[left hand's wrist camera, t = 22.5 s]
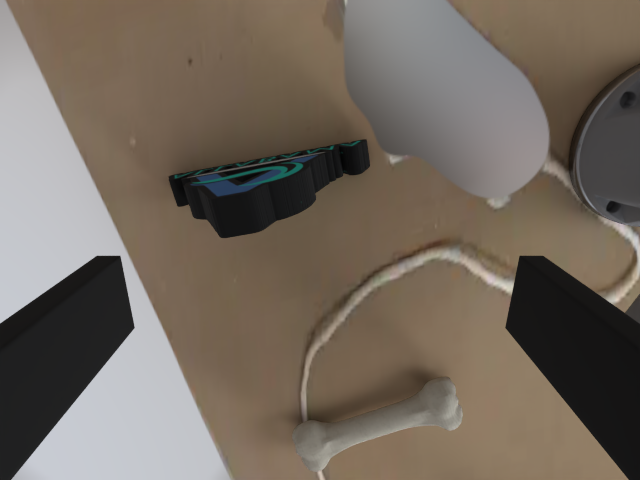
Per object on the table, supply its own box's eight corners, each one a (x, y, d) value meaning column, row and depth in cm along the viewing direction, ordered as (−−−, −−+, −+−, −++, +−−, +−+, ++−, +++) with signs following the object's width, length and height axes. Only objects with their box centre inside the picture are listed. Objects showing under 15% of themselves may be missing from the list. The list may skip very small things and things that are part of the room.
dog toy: (308, 449, 49) (307, 486, 44) (289, 416, 47) (285, 452, 42) (459, 400, 46) (475, 434, 42) (444, 363, 44) (459, 394, 40)
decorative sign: (178, 199, 37) (95, 260, 23) (171, 175, 36) (79, 223, 22) (369, 165, 36) (402, 207, 22) (365, 139, 35) (397, 165, 21)
